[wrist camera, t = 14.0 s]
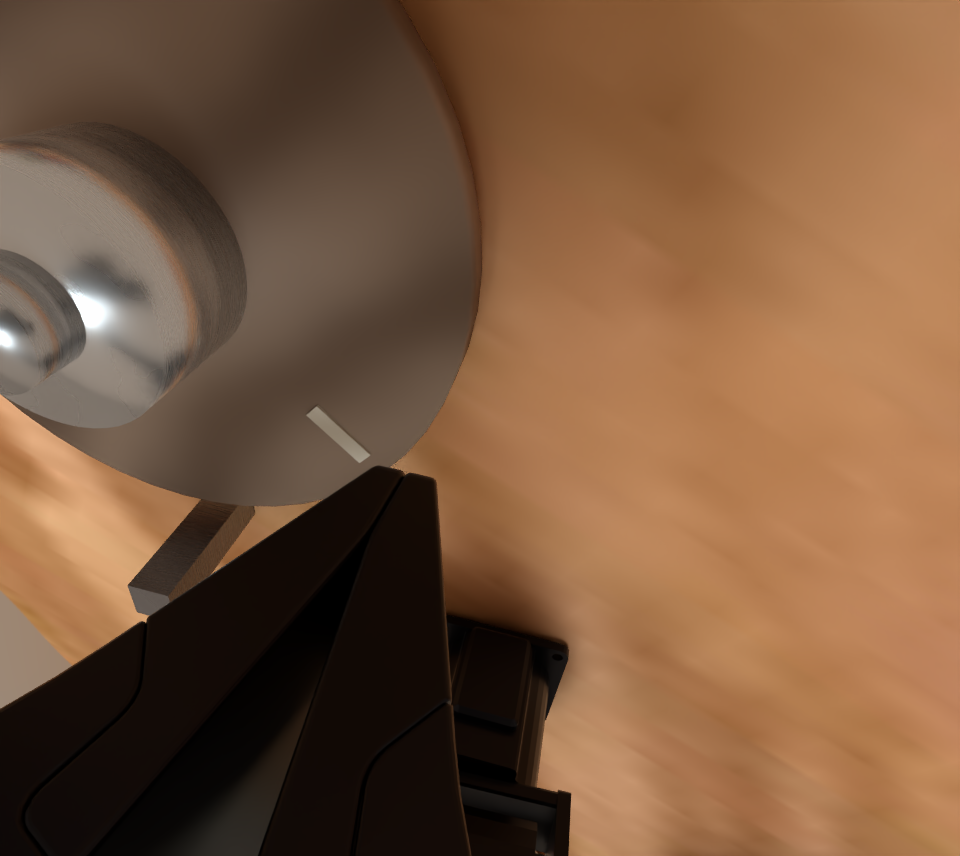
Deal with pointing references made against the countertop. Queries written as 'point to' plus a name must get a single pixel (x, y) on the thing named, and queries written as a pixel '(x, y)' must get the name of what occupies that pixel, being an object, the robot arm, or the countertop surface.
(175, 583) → the post
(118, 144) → the aluminium cover
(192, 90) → the turntable
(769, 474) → the countertop surface
